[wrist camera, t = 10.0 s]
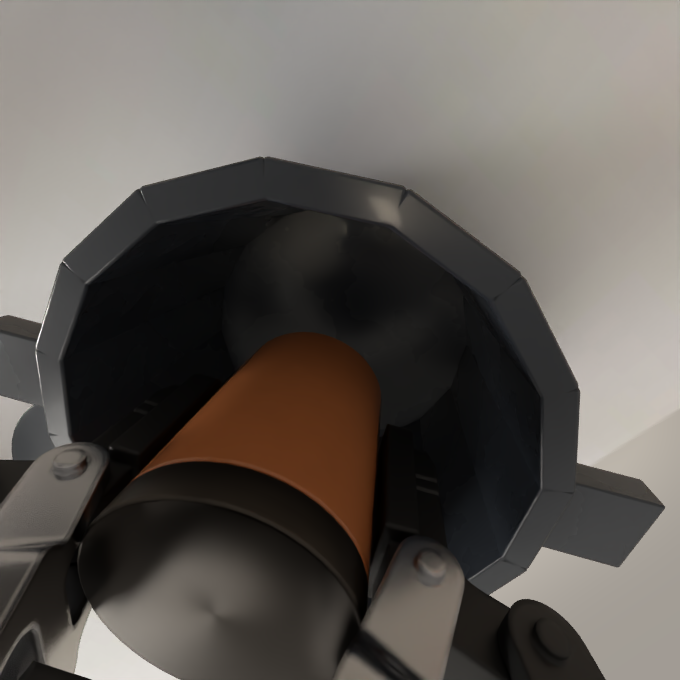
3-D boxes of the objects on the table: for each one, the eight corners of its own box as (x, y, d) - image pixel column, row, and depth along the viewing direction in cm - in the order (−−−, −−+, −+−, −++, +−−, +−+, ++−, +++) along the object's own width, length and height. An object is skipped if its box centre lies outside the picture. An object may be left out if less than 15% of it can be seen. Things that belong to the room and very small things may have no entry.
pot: (168, 147, 16) (-126, 71, 7) (589, 239, 15) (893, 291, 6) (165, 399, 22) (-3, 540, 13) (475, 482, 20) (540, 706, 11)
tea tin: (250, 315, 11) (58, 458, 5) (398, 352, 11) (402, 556, 5) (237, 436, 13) (87, 652, 7) (363, 470, 13) (331, 732, 7)
